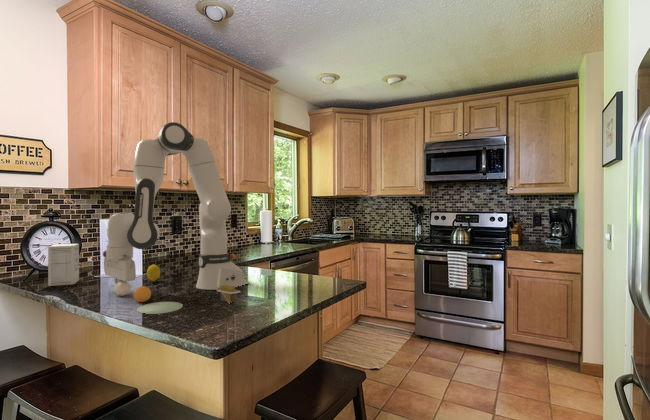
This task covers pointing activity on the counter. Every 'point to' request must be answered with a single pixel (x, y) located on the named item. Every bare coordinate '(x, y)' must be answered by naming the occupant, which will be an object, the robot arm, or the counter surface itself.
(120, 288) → the cue ball
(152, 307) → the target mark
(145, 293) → the object ball
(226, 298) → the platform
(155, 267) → the lemon
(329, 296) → the counter surface
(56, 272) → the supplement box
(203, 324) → the counter surface
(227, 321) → the counter surface
